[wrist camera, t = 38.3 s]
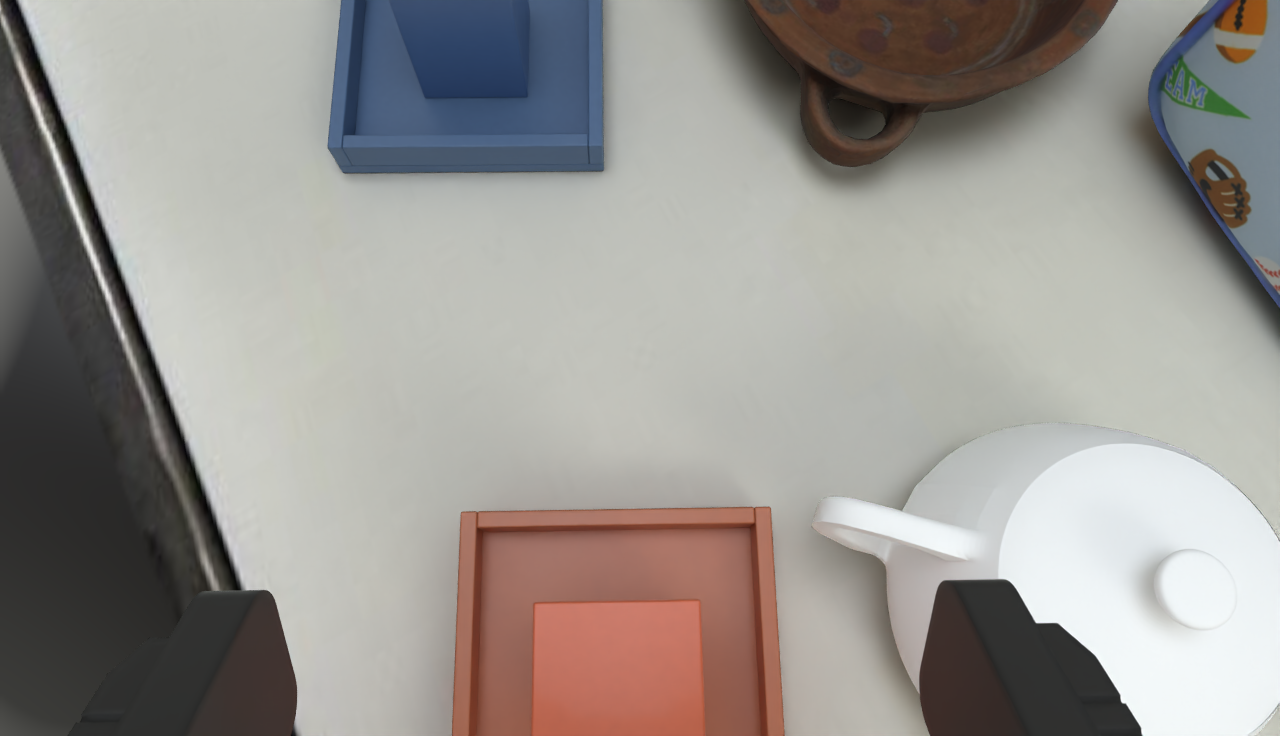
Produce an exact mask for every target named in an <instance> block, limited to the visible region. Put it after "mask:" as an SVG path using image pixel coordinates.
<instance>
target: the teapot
mask: <svg viewBox="0 0 1280 736" xmlns="http://www.w3.org/2000/svg"><path fill="white" fill-rule="evenodd" d="M812 528H814V529H815V530H816V531H818V532H819V533H820V534H822V535H824V536H826V537H828V538H830V539H832V540H834V541H836V542H838V543H840V544H842V545H844V546H846V547H848V548H850V549H852V550H856V551H861V552H865V553H869V554H872V555H874V556H876V557H877V558H879V559H880V560H881V561H882V562H883V563H884V565H885V567H886V571H887V600H888V609H889V616H890V622H891V627H892V631H893V635H894V638H895V642H896V645H897V648H898V651H899V654H900V656H901V659H902V661H903V664H904V666H905V668H906V671H907V673H908V675H909V677H910V679H911V680H912V682H913V684H914V686H915V688H916V689H917V691H918V693H919V694H920V691H919V674H920V666H921V662H922V657H923V652H924V647H925V643H926V638H927V633H928V629H929V624H930V619H931V614H932V610H933V605H934V600H935V595H936V592H937V588H938V586H939V584H940V583H941V582H942V581H943V580H980V579H1006V580H1008V581H1010V582H1011V583H1012V584H1013V585H1014V587H1015V588H1016V590H1017V591H1018V593H1019V595H1020V596H1021V598H1022V600H1023V601H1024V603H1025V605H1026V607H1027V608H1028V610H1029V612H1030V614H1031V615H1032V617H1033V619H1034V620H1035V622H1036V623H1058V624H1059V625H1060V626H1062V627H1063V628H1064V629H1065V630H1066V631H1067V632H1068V633H1070V634H1071V635H1072V636H1073V637H1074V638H1075V639H1077V640H1078V641H1079V642H1080V643H1081V644H1082V645H1084V646H1085V647H1086V648H1087V649H1088V650H1089V651H1091V652H1092V653H1093V654H1094V655H1095V656H1096V657H1097V659H1098V660H1099V662H1100V663H1101V665H1102V667H1103V668H1104V670H1105V671H1106V673H1107V674H1108V676H1109V678H1110V679H1111V681H1112V682H1113V684H1114V686H1115V687H1116V689H1117V690H1118V692H1119V693H1120V695H1121V697H1120V698H1121V702H1122V703H1126V704H1127V706H1128V708H1129V709H1130V711H1131V712H1132V714H1133V716H1134V717H1135V719H1136V720H1137V722H1138V723H1139V725H1140V727H1141V728H1142V729H1141V732H1142V735H1143V736H1256V735H1257V734H1258V733H1259V732H1260V731H1261V730H1262V729H1263V727H1264V726H1265V725H1266V724H1267V723H1268V721H1269V720H1270V719H1271V717H1272V716H1273V715H1274V713H1275V712H1276V710H1277V709H1278V707H1279V706H1280V540H1279V538H1278V537H1277V535H1276V533H1275V532H1274V530H1273V528H1272V527H1271V525H1270V524H1269V523H1268V521H1267V520H1266V518H1265V517H1264V516H1263V515H1262V513H1261V512H1260V511H1259V510H1258V508H1257V507H1256V506H1255V505H1254V504H1253V503H1252V502H1251V501H1250V500H1249V499H1248V498H1247V497H1246V496H1245V495H1244V494H1243V492H1242V491H1241V490H1240V489H1239V488H1238V487H1237V486H1236V485H1234V484H1233V483H1232V482H1231V481H1230V480H1228V479H1227V478H1226V477H1225V476H1224V475H1222V474H1221V473H1220V472H1219V471H1218V470H1216V469H1215V468H1214V467H1213V466H1211V465H1209V464H1208V463H1206V462H1204V461H1203V460H1201V459H1199V458H1198V457H1196V456H1194V455H1193V454H1191V453H1189V452H1188V451H1186V450H1184V449H1181V448H1178V447H1175V446H1173V445H1170V444H1167V443H1164V442H1161V441H1158V440H1155V439H1152V438H1149V437H1146V436H1142V435H1139V434H1135V433H1131V432H1126V431H1121V430H1116V429H1111V428H1105V427H1098V426H1091V425H1082V424H1071V423H1037V424H1027V425H1020V426H1014V427H1009V428H1005V429H1001V430H997V431H994V432H991V433H988V434H986V435H983V436H981V437H978V438H976V439H974V440H972V441H970V442H968V443H966V444H964V445H963V446H961V447H959V448H958V449H956V450H955V451H953V452H952V453H950V454H949V455H948V456H946V457H945V458H944V459H943V460H942V461H940V462H939V463H938V464H937V465H936V466H935V467H934V468H933V469H932V470H931V471H930V472H929V473H928V474H927V475H926V476H925V477H924V478H923V479H922V480H921V481H920V482H919V483H918V484H917V485H916V486H915V488H914V490H913V492H912V494H911V496H910V497H909V499H908V501H907V503H906V504H905V506H904V508H903V509H902V511H900V510H897V509H893V508H890V507H886V506H883V505H879V504H875V503H871V502H867V501H863V500H859V499H854V498H849V497H841V496H830V497H825V498H823V499H822V500H820V502H819V503H818V505H817V508H816V512H815V516H814V520H813V523H812Z"/></svg>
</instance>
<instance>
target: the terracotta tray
mask: <svg viewBox="0 0 1280 736" xmlns="http://www.w3.org/2000/svg"><path fill="white" fill-rule="evenodd" d="M674 599H699V600H700V601H701V621H702V649H703V677H704V705H705V733H706V736H785V734H784V718H783V701H782V685H781V669H780V652H779V636H778V619H777V603H776V586H775V570H774V553H773V537H772V520H771V508H770V507H755V508H753V507H722V508H660V509H598V510H535V511H479V512H476V511H472V512H461V521H460V546H459V571H458V596H457V621H456V646H455V671H454V696H453V721H452V736H531V696H532V638H533V604H534V603H535V602H557V601H616V600H674Z"/></svg>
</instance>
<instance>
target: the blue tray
mask: <svg viewBox="0 0 1280 736" xmlns="http://www.w3.org/2000/svg"><path fill="white" fill-rule="evenodd" d="M528 3H529V9H530V28H529V75H528V97H501V98H425V97H424V95H423V92H422V89H421V86H420V84H419V81H418V78H417V76H416V73H415V70H414V68H413V65H412V62H411V60H410V57H409V54H408V52H407V49H406V46H405V44H404V41H403V38H402V36H401V33H400V30H399V28H398V25H397V22H396V20H395V17H394V14H393V12H392V9H391V6H390V3H389V1H388V0H341V9H340V20H339V31H338V41H337V52H336V62H335V73H334V84H333V94H332V105H331V115H330V126H329V137H328V149H329V151H330V152H331V154H332V155H333V157H334V159H335V160H336V162H337V164H338V165H339V167H340V169H341V170H342V172H343V173H386V172H523V171H603V170H604V129H603V0H528Z"/></svg>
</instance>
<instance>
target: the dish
mask: <svg viewBox="0 0 1280 736" xmlns="http://www.w3.org/2000/svg"><path fill="white" fill-rule="evenodd" d="M1117 1H1118V0H745V2H746V5H747V7H748V9H749V11H750V12H751V14H752V16H753V18H754V20H755V22H756V23H757V25H758V26H759V28H760V30H761V31H762V32H763V33H764V35H765V36H766V37H767V39H768V40H769V41H770V43H771V44H772V45H773V46H774V47H775V49H776V50H777V51H778V52H779V53H780V55H781V56H782V57H783V58H784V59H785V60H786V61H787V62H788V63H789V64H790V65H791V66H792V67H793V68H794V69H795V70H796V71H797V72H798V74H799V76H800V80H801V105H800V114H801V121H802V126H803V131H804V133H805V136H806V138H807V140H808V142H809V144H810V145H811V146H812V148H813V149H814V150H815V151H816V152H817V153H818V154H819V155H820V156H821V157H823V158H824V159H826V160H827V161H829V162H831V163H833V164H835V165H840V166H847V167H857V166H862V165H867V164H871V163H873V162H875V161H877V160H879V159H882V158H883V157H885V156H886V155H888V154H889V153H890V152H891V151H893V150H894V149H895V148H896V147H898V146H899V145H900V144H901V143H902V142H903V141H904V140H905V139H906V138H907V137H908V136H909V135H910V133H911V132H912V131H913V129H914V127H915V125H916V123H917V121H918V120H919V118H920V117H921V115H922V114H923V113H926V112H933V111H941V110H948V109H955V108H959V107H963V106H966V105H970V104H973V103H976V102H978V101H981V100H984V99H986V98H988V97H990V96H993V95H995V94H997V93H999V92H1001V91H1004V90H1008V89H1010V88H1013V87H1016V86H1019V85H1021V84H1023V83H1025V82H1027V81H1029V80H1031V79H1033V78H1035V77H1038V76H1040V75H1042V74H1044V73H1046V72H1048V71H1049V70H1051V69H1053V68H1054V67H1056V66H1057V65H1059V64H1060V63H1062V62H1063V61H1065V60H1066V59H1068V58H1069V57H1071V56H1072V55H1073V54H1075V53H1076V52H1077V51H1079V50H1080V49H1081V48H1082V47H1083V46H1084V45H1085V44H1086V43H1087V42H1088V41H1089V40H1090V39H1091V38H1092V37H1093V36H1094V35H1095V34H1096V33H1097V32H1098V30H1099V29H1100V28H1101V27H1102V25H1103V24H1104V22H1105V21H1106V19H1107V17H1108V16H1109V14H1110V12H1111V11H1112V9H1113V8H1114V6H1115V5H1116V3H1117ZM835 98H840V99H843V100H847V101H850V102H853V103H856V104H859V105H862V106H865V107H868V108H871V109H874V110H877V111H880V112H881V113H883V115H884V117H885V126H884V128H883V130H882V131H881V132H879V133H878V134H877V135H875V136H873V137H871V138H869V139H854V138H852V137H849V136H846V135H844V134H843V133H842V132H840V131H839V130H838V129H837V128H836V126H835V125H834V124H833V122H832V120H831V118H830V115H829V112H828V104H829V102H830V101H831V100H832V99H835Z"/></svg>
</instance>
